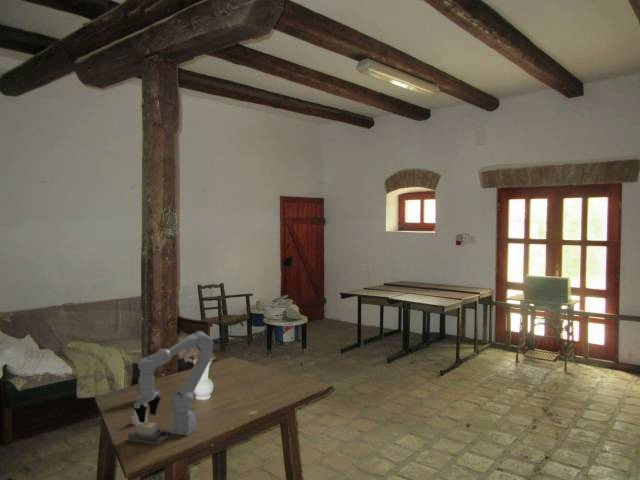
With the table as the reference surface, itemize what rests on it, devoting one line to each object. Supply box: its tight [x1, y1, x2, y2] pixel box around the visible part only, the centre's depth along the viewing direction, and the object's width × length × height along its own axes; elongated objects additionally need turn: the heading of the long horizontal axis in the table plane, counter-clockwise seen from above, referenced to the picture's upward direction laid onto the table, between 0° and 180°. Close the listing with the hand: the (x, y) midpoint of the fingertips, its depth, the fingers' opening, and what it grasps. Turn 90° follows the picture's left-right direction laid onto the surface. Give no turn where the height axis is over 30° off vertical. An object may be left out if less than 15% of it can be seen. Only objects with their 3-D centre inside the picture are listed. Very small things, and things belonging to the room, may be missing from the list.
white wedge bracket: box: [131, 402, 149, 426], centre depth 219 cm, size 4×10×9 cm
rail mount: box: [126, 428, 169, 446], centre depth 203 cm, size 15×7×3 cm, turn 74°
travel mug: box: [137, 367, 156, 405], centre depth 243 cm, size 8×8×18 cm
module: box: [136, 421, 158, 437], centre depth 203 cm, size 7×4×5 cm, turn 74°
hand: (147, 418), depth 203 cm, fingers open, 7 cm apart
